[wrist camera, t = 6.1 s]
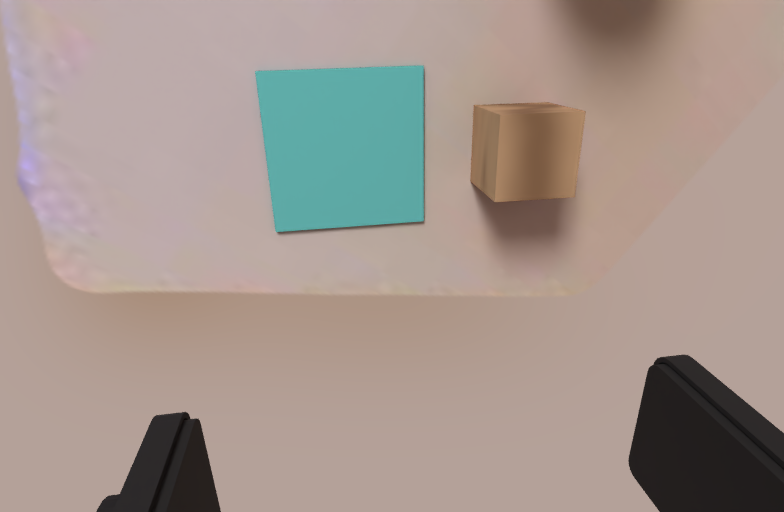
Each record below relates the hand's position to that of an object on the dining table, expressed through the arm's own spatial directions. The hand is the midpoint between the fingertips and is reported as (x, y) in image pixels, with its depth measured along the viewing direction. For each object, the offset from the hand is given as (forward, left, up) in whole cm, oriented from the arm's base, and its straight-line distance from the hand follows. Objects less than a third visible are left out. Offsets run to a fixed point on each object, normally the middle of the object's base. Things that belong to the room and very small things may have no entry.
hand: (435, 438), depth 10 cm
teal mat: (0, 0, -30) cm, 30 cm away
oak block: (-13, 0, -31) cm, 33 cm away
